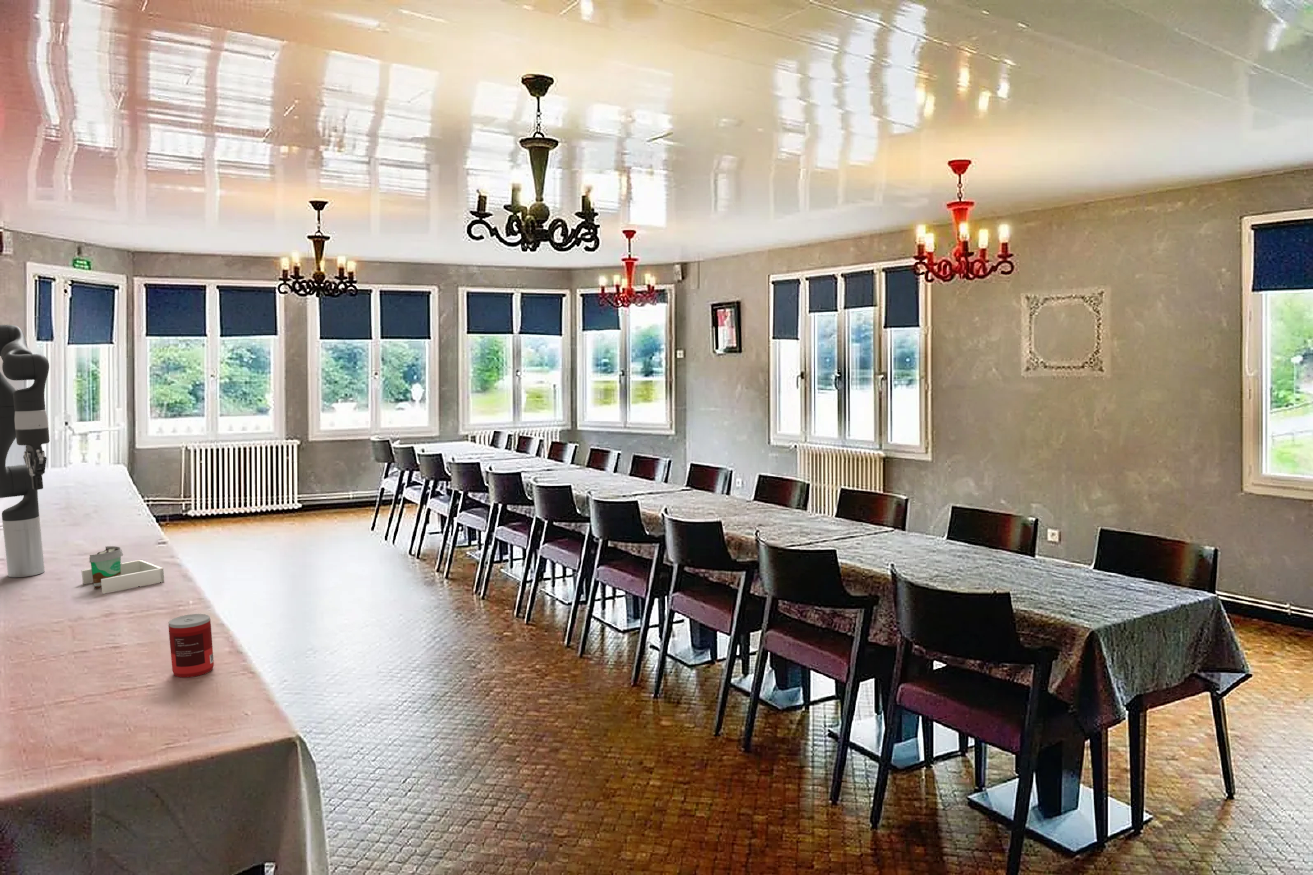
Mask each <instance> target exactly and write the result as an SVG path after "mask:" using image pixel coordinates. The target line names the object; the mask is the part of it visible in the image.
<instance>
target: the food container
mask: <svg viewBox="0 0 1313 875" xmlns="http://www.w3.org/2000/svg"><path fill="white" fill-rule="evenodd" d="M123 556H124V553H123V550H122V549H121V547H120V546H116V545H115V546H113V545H112V546H111V545H110V546H105V549H104V550H102V551H99V552H97V553H96V554H89V563H90V569H92V576H93V588H94V590H98V589H102V586H101V579H105V578H110V577H115V576H121V562H122V560H121V559H122V557H123Z"/></svg>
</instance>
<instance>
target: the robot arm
mask: <svg viewBox="0 0 1313 875" xmlns="http://www.w3.org/2000/svg"><path fill="white" fill-rule="evenodd" d="M0 357H1V360H2V364H1V366H2V372H1V371H0V499H3V498H13V497H22V496H23V498H22V499H21V500H20V501H19V502H17V503H16V504H14V505H11V506H10V507H8V508H6V509H4V510H2V511H1V520H2V529H3V530H2V531H3V539H4V548H5V549H4V550H5V560H6V570H7V577H8V578H23V577H32V576H36V575H39V574H43V573H45V561H44V550H43V541H42V531H41V530H42V528H41V522H40V521H41V519H40V511H39V510H40V508H39V506H40V505H39V493H38V491H39V490H43V489H44V482H43V475H44V474H45V473H46V464H47V460H48V458H47V456H46V454H45V450H43V446H42V445H46V444H49V443H50V431H49V422H48V419H49V418H48V414H47V411H46V401H45V389H46V383H47V379H48V375H49V370H50V362H49V360H48V358H47V357H46V356H44V355H43V354H41V353H40V354H39V353H34V354H33V352H32V351H31V350H30V349H29V346H28V344H27V340H26V337H25V334H24V332H23V330H22V329H21V328H20V327H19V326H18V325H15V324H0ZM2 373H3V374H2ZM8 380H11V381H33V384H31V386H28V387H26V388H20V389H15V387H14V386H13V385H12V384H11V383H10V382H9V381H8ZM15 440H16V444H17V445H18V446H25V451H24V452H23V454H24V455H23V457H22V458H23V460H24V463H25V464H19V465H9V466H6V463H7V462H6V461H7V457H8V453H9V451H10V449H11V447H12V445H13V443H14V441H15Z"/></svg>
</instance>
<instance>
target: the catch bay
mask: <svg viewBox="0 0 1313 875" xmlns="http://www.w3.org/2000/svg"><path fill="white" fill-rule="evenodd" d="M81 578H82V580H81V581H82V585H87V584H88V585H89V584H92V583H93V576H92V569H91V568H88V569H87V568H86V569H82V570H81ZM160 582H161V583H165V575H164V567H161V566H159V565H156V564H154V563H151V562H147V561H145V560H142V559H138V560H132V561H127V562H122V563H121V576H115V577H110V578H105V579H101V586H102V588H101V594H103V595H104V594H109V593H114V592H120V591H125V590H129V589H135V588H139V587H138V586H140V587H145V586H150V585H151V586H152V585H155V584H161V583H160ZM93 584H94V583H93Z"/></svg>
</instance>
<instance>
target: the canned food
mask: <svg viewBox="0 0 1313 875" xmlns="http://www.w3.org/2000/svg"><path fill="white" fill-rule="evenodd" d="M211 622H212V621H211V616H210V615H208V614H205V613H191V614H184V615H181V616H177V617H174V618H171V619H170V620H169V621H168V625H167V626H168V636H169V648H170V659H171V670H172V673H173V675H174V676H175V677H177V678H187V679H188V678H195V677H200V676H203V675H206V674H208V673H210V672H211V671H212V670H213V668H214V664H215V663H214V662H215V661H214V650H213V648H214V647H213V635H212V624H211Z"/></svg>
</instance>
